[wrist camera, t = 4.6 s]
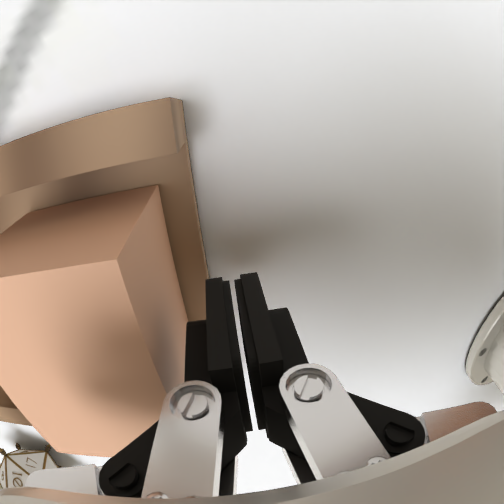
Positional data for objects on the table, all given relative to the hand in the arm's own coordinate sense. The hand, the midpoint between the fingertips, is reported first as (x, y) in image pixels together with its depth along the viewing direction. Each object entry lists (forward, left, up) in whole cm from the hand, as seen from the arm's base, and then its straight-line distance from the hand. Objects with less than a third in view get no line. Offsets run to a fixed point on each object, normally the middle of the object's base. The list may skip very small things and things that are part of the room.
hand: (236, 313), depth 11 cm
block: (+5, 0, -3) cm, 6 cm away
